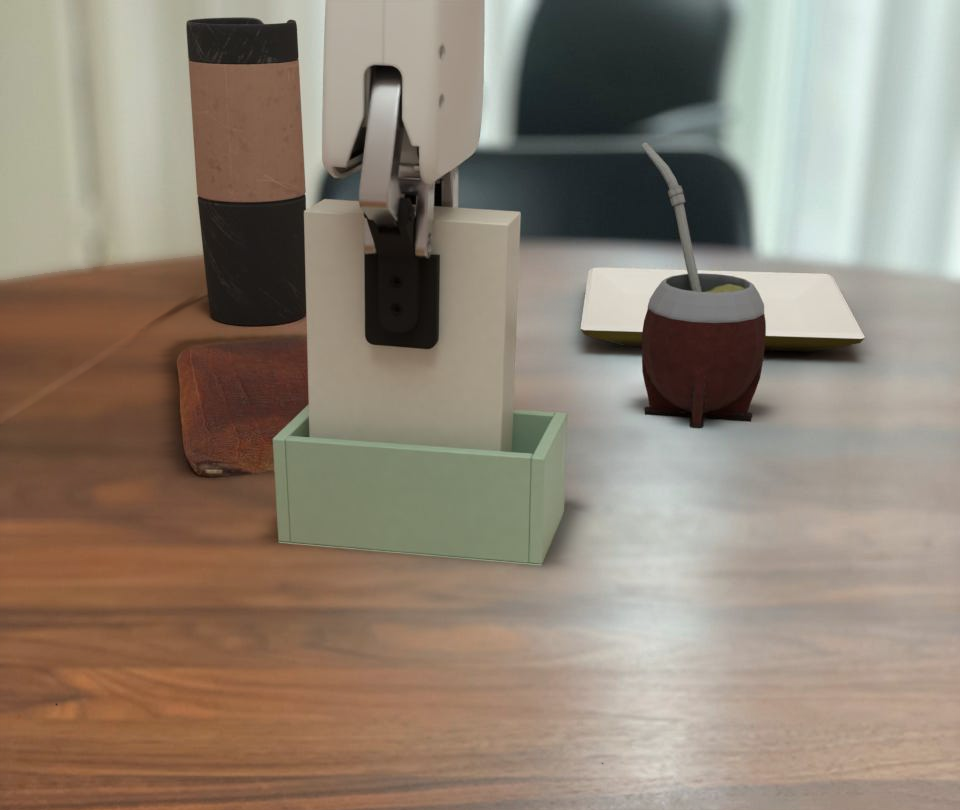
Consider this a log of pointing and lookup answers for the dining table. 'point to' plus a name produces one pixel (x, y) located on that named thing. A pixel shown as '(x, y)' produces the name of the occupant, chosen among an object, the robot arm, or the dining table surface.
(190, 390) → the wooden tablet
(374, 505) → the bin
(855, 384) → the dining table surface
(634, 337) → the plate
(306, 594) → the dining table surface
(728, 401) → the mate gourd
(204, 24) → the travel mug
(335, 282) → the rectangular block
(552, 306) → the dining table surface
